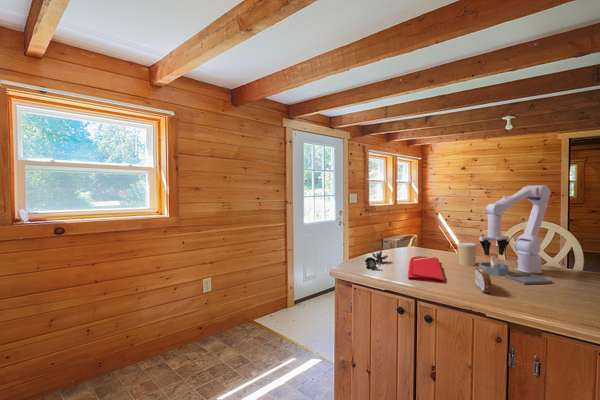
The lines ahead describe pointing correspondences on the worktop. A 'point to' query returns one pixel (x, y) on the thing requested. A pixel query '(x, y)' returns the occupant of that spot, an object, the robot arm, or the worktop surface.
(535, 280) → the tray
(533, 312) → the worktop surface
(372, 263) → the artificial flower
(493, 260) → the dowel pin
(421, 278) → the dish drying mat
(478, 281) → the tin
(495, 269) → the blue-grey octagonal bowl
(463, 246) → the coffee cup
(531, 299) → the worktop surface
